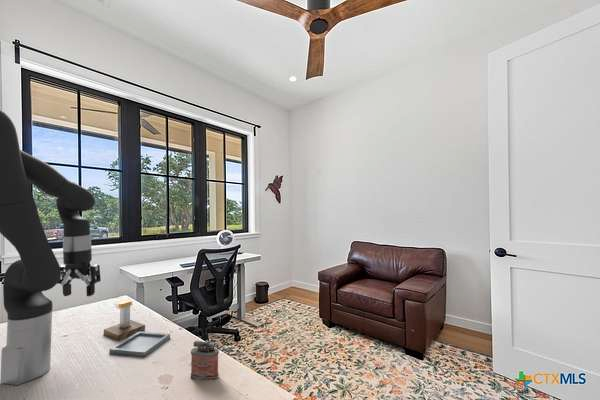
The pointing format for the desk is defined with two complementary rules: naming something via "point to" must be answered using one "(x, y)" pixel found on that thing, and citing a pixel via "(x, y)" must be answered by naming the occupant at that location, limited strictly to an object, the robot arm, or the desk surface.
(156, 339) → the tray
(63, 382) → the desk surface
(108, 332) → the socket plate
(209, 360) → the lighter
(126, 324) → the key
